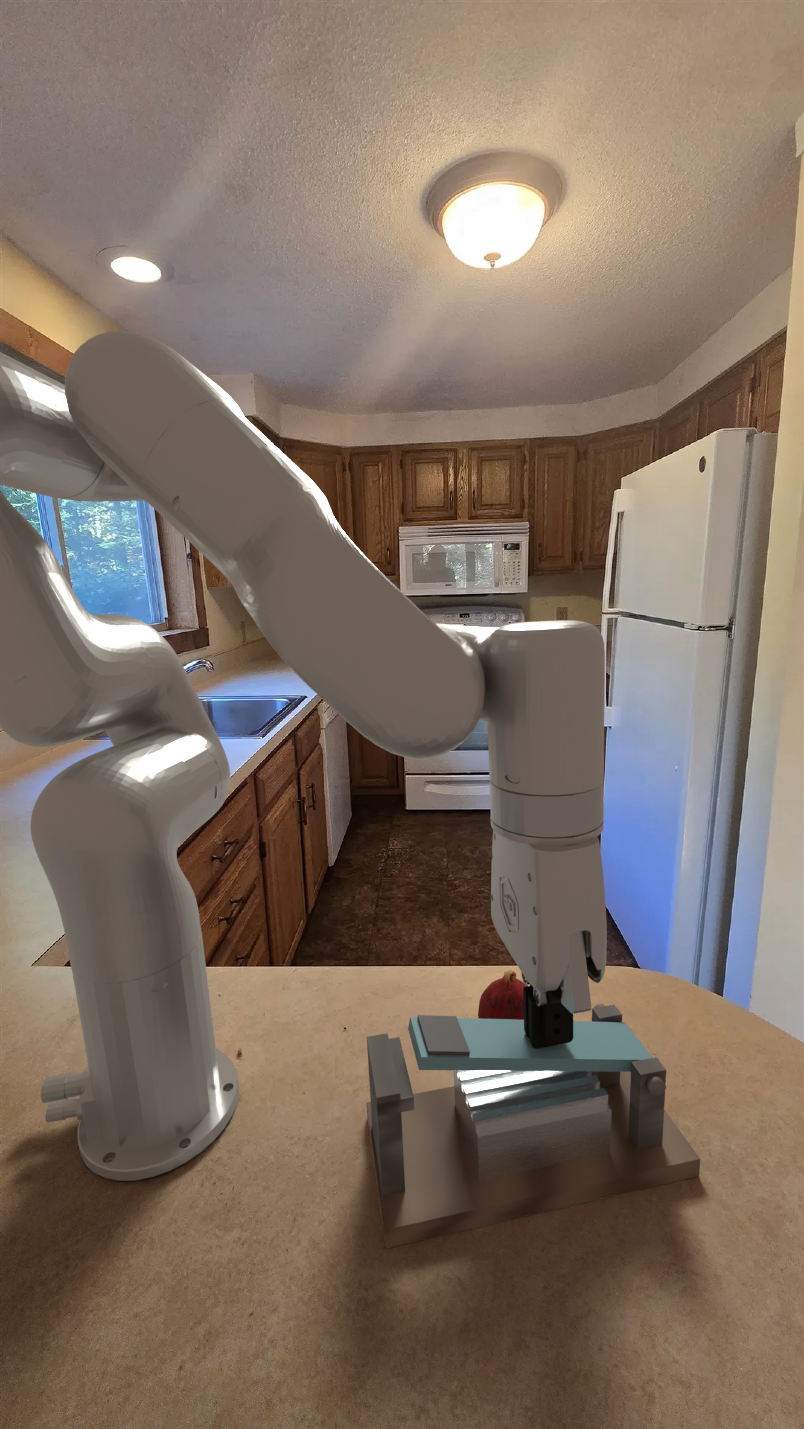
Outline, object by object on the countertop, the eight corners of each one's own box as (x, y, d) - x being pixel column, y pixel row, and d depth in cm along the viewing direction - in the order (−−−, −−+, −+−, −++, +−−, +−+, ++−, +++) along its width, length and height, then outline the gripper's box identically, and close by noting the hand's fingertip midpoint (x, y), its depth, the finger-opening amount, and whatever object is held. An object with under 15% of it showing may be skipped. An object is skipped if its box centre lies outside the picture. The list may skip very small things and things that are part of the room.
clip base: (385, 1248, 38) (378, 1127, 36) (367, 1118, 48) (360, 1017, 46) (699, 1176, 42) (706, 1062, 40) (623, 1068, 52) (627, 973, 50)
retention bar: (418, 1070, 40) (422, 1053, 39) (407, 1028, 43) (410, 1013, 43) (651, 1071, 43) (655, 1056, 43) (622, 1033, 47) (625, 1019, 47)
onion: (542, 1077, 51) (542, 997, 50) (476, 1069, 52) (474, 990, 51) (540, 1029, 57) (540, 956, 55) (481, 1023, 58) (479, 951, 56)
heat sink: (478, 1181, 41) (477, 1127, 40) (454, 1105, 47) (453, 1057, 46) (610, 1152, 42) (611, 1100, 42) (570, 1082, 49) (570, 1036, 48)
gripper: (462, 778, 46) (470, 983, 50) (537, 856, 32) (541, 1137, 35) (551, 768, 47) (553, 969, 51) (662, 839, 33) (654, 1112, 36)
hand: (548, 1037), depth 43 cm, fingers closed
